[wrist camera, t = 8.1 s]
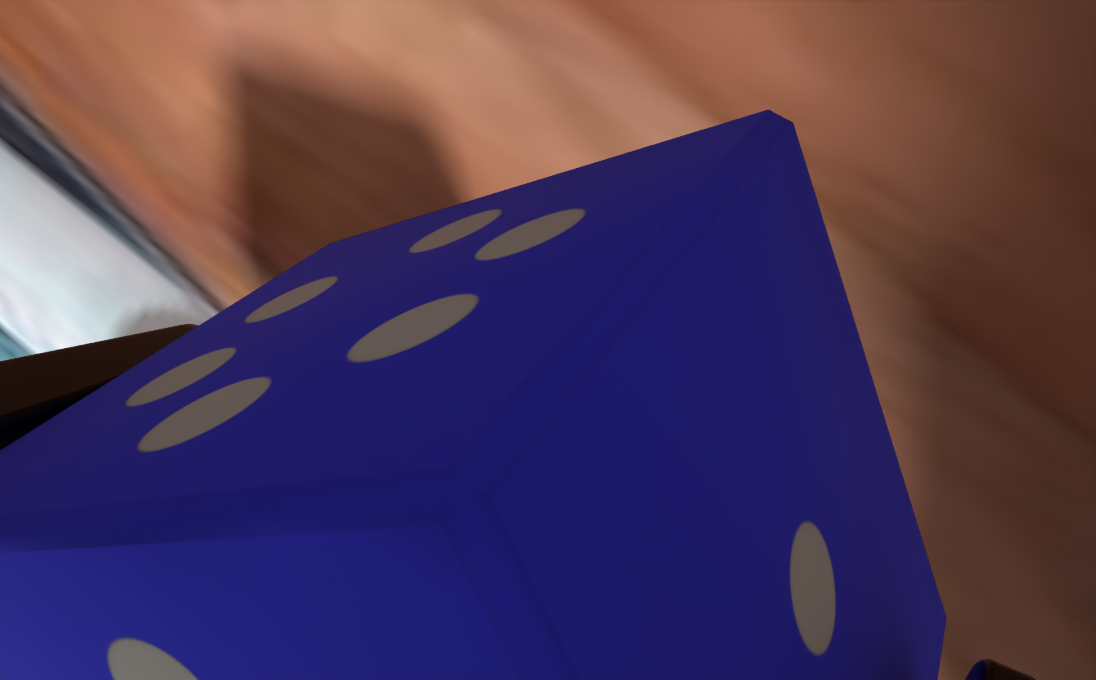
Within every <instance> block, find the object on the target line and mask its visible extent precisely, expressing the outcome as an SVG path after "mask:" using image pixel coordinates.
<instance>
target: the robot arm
mask: <svg viewBox="0 0 1096 680" xmlns="http://www.w3.org/2000/svg"><path fill="white" fill-rule="evenodd" d="M196 327H198V325H194V324H184V325H178V326H173V327H168V328H164V329H158V330H154V331H149V332H144V333H139V334H134V335H129V336H124V337H119V338H114V339H109V340H104V341H99V342H94V343H89V344H84V345H79V346H74V347H69V348H64V349H59V350H54V351H49V352H44V353H39V354H34V355H29V356H24V357H19V358H14V359H9V360H4V361H0V450H2V449H3V448H5V447H7V446H8V445H10V444H11V443H13V442H14V441H16V440H18V439H19V438H21V437H22V436H24V435H26V434H27V433H29V432H30V431H32V430H34V429H35V428H37V427H38V426H40V425H42V424H43V423H45V422H46V421H48V420H50V419H51V418H53V417H54V416H56V415H57V414H59V413H61V412H62V411H64V410H65V409H67V408H69V407H70V406H72V405H73V404H75V403H77V402H78V401H80V400H81V399H83V398H85V397H86V396H88V395H89V394H91V393H93V392H94V391H96V390H97V389H99V388H100V387H102V386H104V385H105V384H107V383H108V382H110V381H112V380H113V379H115V378H116V377H118V376H120V375H121V374H123V373H124V372H126V371H128V370H129V369H131V368H132V367H134V366H135V365H137V364H139V363H140V362H142V361H143V360H145V359H147V358H148V357H150V356H151V355H153V354H155V353H156V352H158V351H159V350H161V349H163V348H164V347H166V346H167V345H169V344H171V343H172V342H174V341H175V340H177V339H178V338H180V337H182V336H183V335H185V334H186V333H188V332H190V331H191V330H193V329H194V328H196ZM965 680H1036V679H1034V678H1033V677H1031V676H1028V675H1026V674H1024V673H1021V672H1019V671H1017V670H1014V669H1012V668H1010V667H1007V666H1005V665H1002V664H1000V663H998V662H995V661H993V660H989V659H985V660H980V661H979V662H977V663H976V664H975V665H974V666H973V668H972V669H971V670H970V672H969V674H968V675H967V677H966V679H965Z"/></svg>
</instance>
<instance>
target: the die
mask: <svg viewBox="0 0 1096 680" xmlns="http://www.w3.org/2000/svg"><path fill="white" fill-rule="evenodd" d="M945 623H946V615H945V612H944V609H943V605H942V602H941V599H940V596H939V592H938V589H937V586H936V583H935V580H934V576H933V573H932V570H931V567H930V563H929V560H928V557H927V554H926V550H925V547H924V544H923V541H922V538H921V534H920V531H919V528H918V525H917V521H916V518H915V515H914V512H913V508H912V505H911V502H910V499H909V496H908V492H907V489H906V486H905V483H904V479H903V476H902V473H901V470H900V466H899V463H898V460H897V457H896V454H895V450H894V447H893V444H892V441H891V437H890V434H889V431H888V428H887V424H886V421H885V418H884V415H883V412H882V408H881V405H880V402H879V399H878V395H877V392H876V389H875V386H874V382H873V379H872V376H871V373H870V370H869V366H868V363H867V360H866V357H865V353H864V350H863V347H862V344H861V340H860V337H859V334H858V331H857V328H856V324H855V321H854V318H853V315H852V311H851V308H850V305H849V302H848V298H847V295H846V292H845V289H844V286H843V282H842V279H841V276H840V273H839V269H838V266H837V263H836V260H835V256H834V253H833V250H832V247H831V244H830V240H829V237H828V234H827V231H826V227H825V224H824V221H823V218H822V215H821V211H820V208H819V205H818V202H817V198H816V195H815V192H814V189H813V185H812V182H811V179H810V176H809V173H808V169H807V166H806V163H805V160H804V156H803V153H802V150H801V147H800V143H799V140H798V137H797V134H796V131H795V127H794V124H793V122H791V121H789V120H787V119H785V118H783V117H782V116H780V115H778V114H776V113H774V112H772V111H770V110H766V111H762V112H759V113H756V114H753V115H749V116H746V117H743V118H739V119H736V120H733V121H730V122H726V123H723V124H720V125H717V126H713V127H710V128H707V129H703V130H700V131H697V132H694V133H690V134H687V135H684V136H680V137H677V138H674V139H671V140H667V141H664V142H661V143H658V144H654V145H651V146H648V147H644V148H641V149H638V150H635V151H631V152H628V153H625V154H622V155H618V156H615V157H612V158H608V159H605V160H602V161H599V162H595V163H592V164H589V165H585V166H582V167H579V168H576V169H572V170H569V171H566V172H563V173H559V174H556V175H553V176H549V177H546V178H543V179H540V180H536V181H533V182H530V183H527V184H523V185H520V186H517V187H513V188H510V189H507V190H504V191H500V192H497V193H494V194H491V195H487V196H484V197H481V198H477V199H474V200H471V201H468V202H464V203H461V204H458V205H454V206H451V207H448V208H445V209H441V210H438V211H435V212H432V213H428V214H425V215H422V216H418V217H415V218H412V219H409V220H405V221H402V222H399V223H396V224H392V225H389V226H386V227H382V228H379V229H376V230H373V231H369V232H366V233H363V234H360V235H356V236H353V237H350V238H346V239H343V240H340V241H337V242H333V243H330V244H328V245H327V246H325V247H323V248H322V249H320V250H319V251H317V252H315V253H314V254H312V255H311V256H309V257H307V258H306V259H304V260H303V261H301V262H299V263H298V264H296V265H295V266H293V267H292V268H290V269H288V270H287V271H285V272H284V273H282V274H280V275H279V276H277V277H276V278H274V279H272V280H271V281H269V282H268V283H266V284H264V285H263V286H261V287H260V288H258V289H256V290H255V291H253V292H252V293H250V294H249V295H247V296H245V297H244V298H242V299H241V300H239V301H237V302H236V303H234V304H233V305H231V306H229V307H228V308H226V309H225V310H223V311H221V312H220V313H218V314H217V315H215V316H214V317H212V318H210V319H209V320H207V321H206V322H204V323H202V324H201V325H199V326H198V327H196V328H194V329H193V330H191V331H190V332H188V333H186V334H185V335H183V336H182V337H180V338H178V339H177V340H175V341H174V342H172V343H171V344H169V345H167V346H166V347H164V348H163V349H161V350H159V351H158V352H156V353H155V354H153V355H151V356H150V357H148V358H147V359H145V360H143V361H142V362H140V363H139V364H137V365H135V366H134V367H132V368H131V369H129V370H128V371H126V372H124V373H123V374H121V375H120V376H118V377H116V378H115V379H113V380H112V381H110V382H108V383H107V384H105V385H104V386H102V387H100V388H99V389H97V390H96V391H94V392H93V393H91V394H89V395H88V396H86V397H85V398H83V399H81V400H80V401H78V402H77V403H75V404H73V405H72V406H70V407H69V408H67V409H65V410H64V411H62V412H61V413H59V414H57V415H56V416H54V417H53V418H51V419H50V420H48V421H46V422H45V423H43V424H42V425H40V426H38V427H37V428H35V429H34V430H32V431H30V432H29V433H27V434H26V435H24V436H22V437H21V438H19V439H18V440H16V441H14V442H13V443H11V444H10V445H8V446H7V447H5V448H3V449H2V450H0V680H937V679H938V672H939V665H940V658H941V651H942V644H943V637H944V630H945Z"/></svg>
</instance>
